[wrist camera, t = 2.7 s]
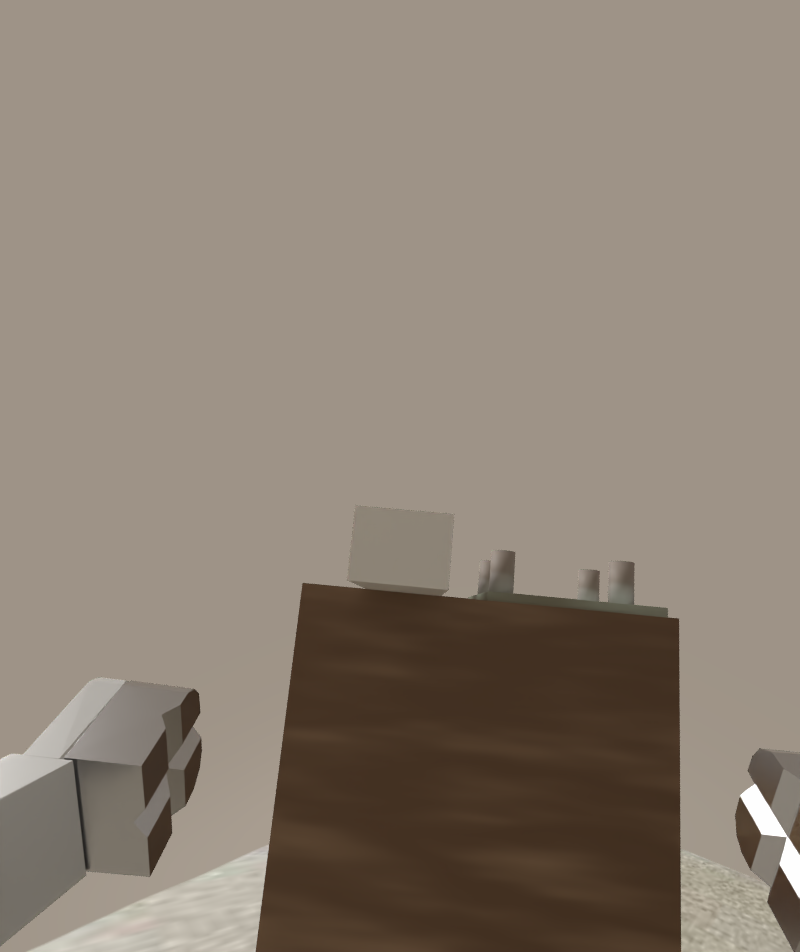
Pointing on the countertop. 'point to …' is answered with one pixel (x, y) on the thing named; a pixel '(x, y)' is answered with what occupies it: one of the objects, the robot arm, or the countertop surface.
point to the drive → (401, 550)
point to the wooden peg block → (478, 773)
